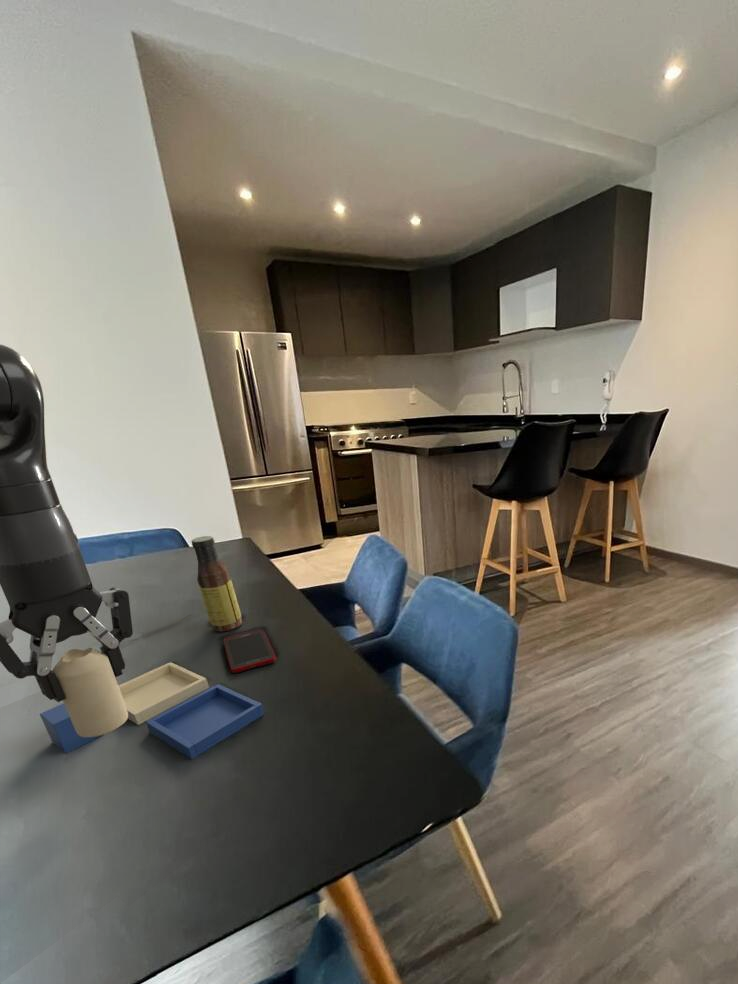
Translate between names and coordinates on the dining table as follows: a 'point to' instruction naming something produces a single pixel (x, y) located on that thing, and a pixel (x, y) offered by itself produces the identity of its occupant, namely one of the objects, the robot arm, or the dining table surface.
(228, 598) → the sauce bottle
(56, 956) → the dining table surface
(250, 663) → the cell phone
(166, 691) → the ivory tray
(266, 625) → the dining table surface
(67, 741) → the blue block
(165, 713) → the blue tray
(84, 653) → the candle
